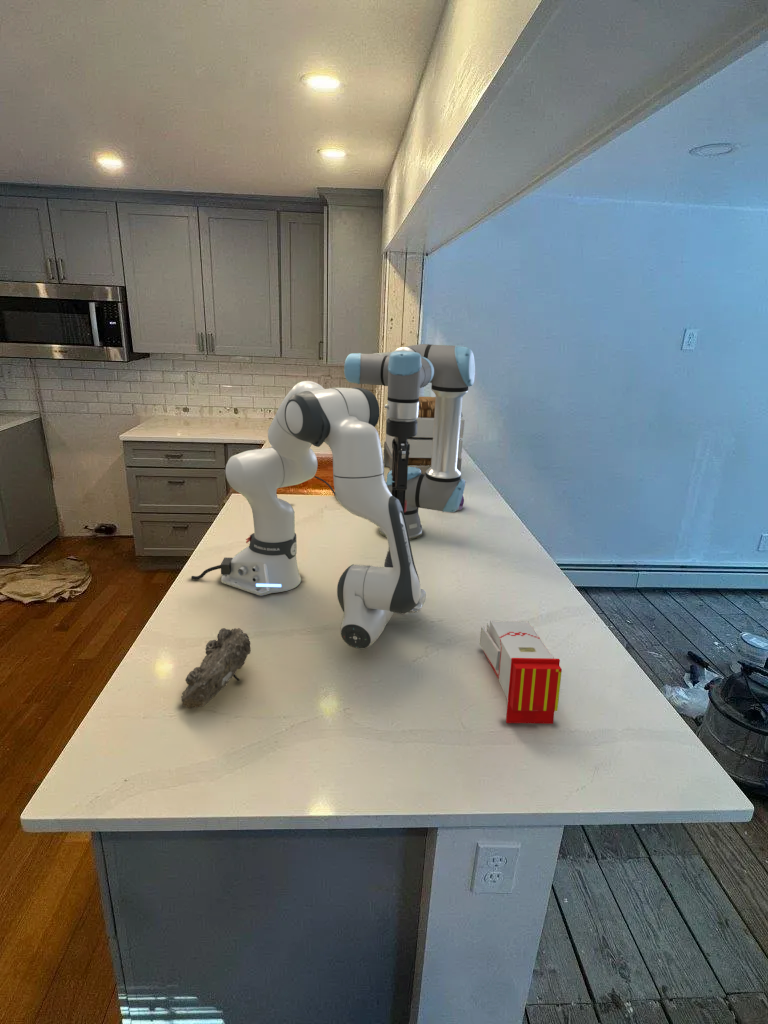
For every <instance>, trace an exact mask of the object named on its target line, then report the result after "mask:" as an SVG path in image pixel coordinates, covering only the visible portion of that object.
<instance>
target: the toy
mask: <svg viewBox="0 0 768 1024" xmlns="http://www.w3.org/2000/svg"><path fill="white" fill-rule="evenodd" d="M478 642H479V643H478V644H479V646H480V647H481V650H482V651H483V654H484V655H485V657H486V659H487V661H488V663H489V664H490V666H491V669H492V670H493V672H494V674H495V676H496V678H497V679H498V682H499V684H500V687H501V688H502V691H503V693H504V695H505V697H506V699H507V706H506V717H505V722H506V724H547V725H549V724H551V725H553V724H554V718H555V712H558V711H559V710H558V709H559V698H560V689H561V682H562V681H561V680H562V672H563V671H562V667H561V666H560V663H561V659H560V658H554V656H553V654H552V653H551V651H550V650H549V649H548V647H547V646H546V644H545V643H544V642H543V640H542V638H540V636H539V635H538V633H537V631H536V630H535V627H534V626H532V625H531V623H530V622H529V620H528V621H527V620H526V621H525V620H524V621H523V620H490V621H489V622H487V623H486V628H485V626H480V634H479V641H478Z"/></svg>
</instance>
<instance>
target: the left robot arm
mask: <svg viewBox="0 0 768 1024" xmlns="http://www.w3.org/2000/svg"><path fill="white" fill-rule="evenodd" d="M379 419H380V405H379V401H378V399H377V397H376V395H375V394H374V393H373V392H372V391H371V390H369V389H366V388H362V387H356V386H354V387H329V388H324V387H323V386H322V385H321V384H320V383H317V382H315V381H311V380H302V381H299V382H297V383H296V384H294V386H292V388H291V389H290V390H289V391H288V393H287V394H286V395H285V397H284V398H283V400H282V401H281V403H280V405H279V407H278V408H277V411H276V413H275V414H274V417H273V419H272V421H271V423H270V425H269V427H268V430H267V439H268V443H269V445H270V446H269V447H263V448H255V449H249V450H248V449H247V450H244V451H242V452H239V453H237V454H234V455H232V456H230V457H229V458H228V460H227V463H226V465H225V470H224V471H225V479H226V481H227V483H228V485H229V486H230V487H231V489H232V490H233V491H235V492H237V493H238V494H240V495H242V496H243V497H244V498H245V500H246V501H247V503H248V504H249V506H250V509H251V512H252V518H253V533H251V534H250V535H249V536H248V537H247V538H245V540H246V542H245V543H246V544H248V543H249V545H247V546H246V547H245V548H243V549H242V550H240V551H239V552H237V554H235V555H234V556H233V557H223V559H222V561H221V562H220V564H218V565H215V566H211V567H209V568H206V569H205V570H204V571H202V572H201V574H199V575H191V578H190V579H191V580H195V581H198V580H201V579H202V578H203V577H205V576H206V575H207V574H208V573H210V572H212V571H216V570H220V575H221V577H220V578H221V579H220V582H221V584H223V585H227V586H230V587H233V588H236V589H240V590H242V591H245V592H248V593H251V594H253V595H256V596H262V597H263V596H267V595H269V594H274V593H283V592H288V591H290V590H293V589H295V588H296V587H298V586H299V585H301V583H302V577H301V575H300V570H299V566H298V560H297V553H298V552H297V549H298V544H297V543H298V541H297V534H296V524H295V521H296V520H295V519H296V518H295V517H296V516H295V515H296V514H295V509H294V507H293V505H292V504H291V503H289V502H288V501H286V500H284V499H281V498H280V497H278V493H277V491H278V489H281V488H286V487H292V486H297V485H301V484H303V483H306V482H307V481H310V480H311V479H312V480H313V479H314V478H315V477H314V476H316V474H317V471H318V465H319V464H318V458H317V455H316V454H315V452H314V450H313V449H312V448H311V447H312V446H314V447H317V448H320V447H321V446H322V445H323V444H324V443H325V444H326V445H327V446H328V447H329V449H330V451H331V454H332V475H333V477H332V479H333V490H334V492H335V495H336V496H335V495H334V496H335V498H336V500H337V502H338V503H339V504H340V506H341V507H343V508H344V509H345V510H346V511H347V512H349V513H350V514H352V515H354V516H357V517H359V518H361V519H364V520H366V521H369V522H370V523H372V524H374V525H375V526H377V528H379V527H380V528H381V529H382V530H383V532H384V533H385V534H386V537H385V538H386V540H387V545H388V549H390V554H391V559H392V564H393V567H384V566H378V565H377V566H376V565H370V564H369V565H368V564H354V563H353V564H351V565H349V566H347V568H346V569H345V570H344V571H343V572H342V574H341V576H340V577H339V579H338V581H337V588H336V595H337V600H338V604H339V607H340V609H341V610H342V612H343V619H342V622H341V625H340V631H339V633H340V637H341V639H342V640H343V642H344V643H345V644H346V645H348V646H349V647H352V648H355V649H360V650H361V649H362V650H363V649H368V648H369V647H371V646H372V645H374V643H375V642H376V641H378V639H379V637H380V636H381V635H382V633H383V632H384V630H385V628H386V625H388V623H389V622H390V620H391V619H392V617H393V615H394V613H397V614H401V615H405V614H416V613H417V612H420V611H421V610H422V608H423V607H424V605H425V603H426V600H427V592H426V590H425V589H423V588H422V587H421V581H420V577H419V574H418V570H417V568H416V565H415V560H414V555H413V551H412V545H411V542H410V540H409V535H408V530H407V525H406V521H405V517H404V513H403V509H402V506H401V504H400V501H399V500H398V499H397V498H395V497H394V496H392V494H391V493H390V491H389V489H388V487H387V484H386V482H387V480H386V478H385V477H386V476H385V466H384V453H383V448H382V442H381V438H380V434H379V431H378V430H377V428H376V426H377V424H378V423H379Z"/></svg>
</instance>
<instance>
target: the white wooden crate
mask: <svg viewBox="0 0 768 1024" xmlns="http://www.w3.org/2000/svg"><path fill="white" fill-rule="evenodd" d="M435 398H436V396H419V412H418V418H417V419H416V420H417V422H418V424H417V435H416V436H414V437H409V438H407V441H408V444H410V450H409V453H410V454H409V459H408V467H417V466H418V467H431V459H432V444H433V429H434V413H435ZM387 409H388V408H386V410H387ZM385 414H386V415H385V421H386V420H387V419H388V418H389V417H387V411H386V413H385ZM464 429H465V419H464V418H463V411H461V423H460V435H459V447H458V459H457V469H458V470H459V471H460V472H462V461H463V460H462V453H463V442H464V441H463V440H462V439H463V438H464V431H465V430H464ZM393 439H395V437H392V436H389V435H387V434H386V433H385V438H384V442H383V462H384V467H388V468H389V472H390V471H391V470H392V458H393V456H392V450H393V448H392V441H393Z"/></svg>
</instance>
